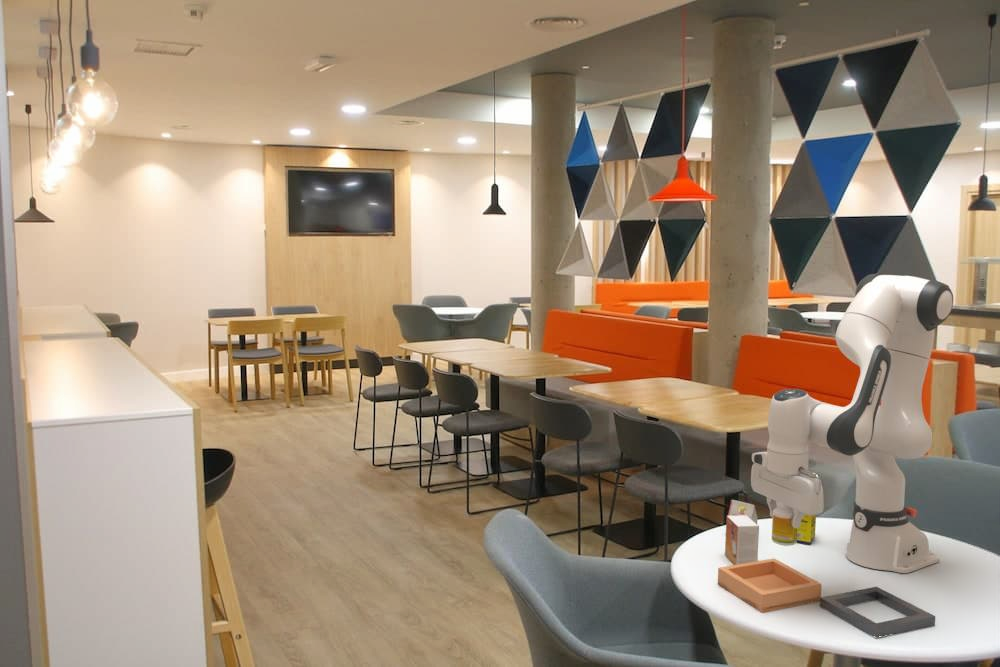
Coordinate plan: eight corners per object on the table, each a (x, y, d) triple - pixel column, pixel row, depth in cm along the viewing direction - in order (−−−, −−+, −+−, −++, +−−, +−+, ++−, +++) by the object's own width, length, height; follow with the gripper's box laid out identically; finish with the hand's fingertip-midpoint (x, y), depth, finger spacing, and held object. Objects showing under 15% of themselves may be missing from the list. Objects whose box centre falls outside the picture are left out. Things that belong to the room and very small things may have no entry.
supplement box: (810, 545, 222) (812, 505, 221) (787, 541, 225) (789, 501, 224) (815, 538, 227) (817, 499, 226) (792, 534, 230) (794, 495, 229)
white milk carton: (734, 533, 231) (735, 498, 230) (756, 539, 226) (758, 503, 225) (727, 536, 229) (728, 501, 227) (749, 543, 224) (751, 506, 223)
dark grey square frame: (876, 595, 192) (876, 586, 191) (934, 625, 177) (935, 616, 177) (819, 606, 186) (820, 597, 186) (875, 638, 171) (876, 629, 171)
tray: (773, 574, 203) (774, 558, 203) (820, 601, 189) (821, 583, 188) (717, 584, 198) (718, 567, 197) (761, 612, 183) (762, 594, 182)
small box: (724, 554, 216) (725, 515, 214) (745, 554, 216) (747, 514, 215) (735, 567, 208) (737, 526, 206) (757, 566, 208) (759, 525, 207)
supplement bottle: (798, 547, 187) (800, 504, 186) (773, 545, 188) (774, 503, 187) (794, 538, 192) (796, 497, 191) (770, 536, 193) (771, 495, 192)
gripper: (832, 473, 179) (829, 535, 181) (769, 450, 198) (766, 507, 200) (808, 476, 177) (806, 539, 179) (747, 452, 196) (745, 510, 198)
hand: (784, 522), depth 189 cm, fingers closed on supplement bottle, 5 cm apart
